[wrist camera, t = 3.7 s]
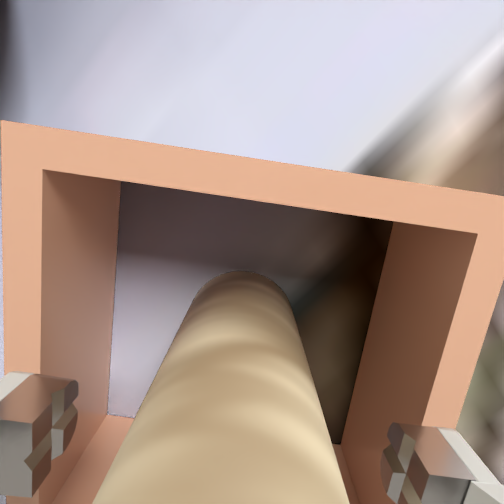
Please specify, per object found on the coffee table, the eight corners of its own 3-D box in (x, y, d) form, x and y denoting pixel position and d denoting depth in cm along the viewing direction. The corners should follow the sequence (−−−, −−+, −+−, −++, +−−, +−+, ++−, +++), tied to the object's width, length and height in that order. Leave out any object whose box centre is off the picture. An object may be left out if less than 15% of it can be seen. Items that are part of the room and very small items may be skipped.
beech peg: (301, 278, 14) (556, 806, 2) (283, 374, 15) (396, 1096, 3) (195, 264, 14) (-134, 739, 2) (183, 360, 15) (-83, 1059, 3)
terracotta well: (426, 192, 13) (528, 200, 8) (356, 464, 16) (402, 592, 11) (97, 142, 13) (0, 119, 8) (84, 430, 16) (7, 545, 11)
